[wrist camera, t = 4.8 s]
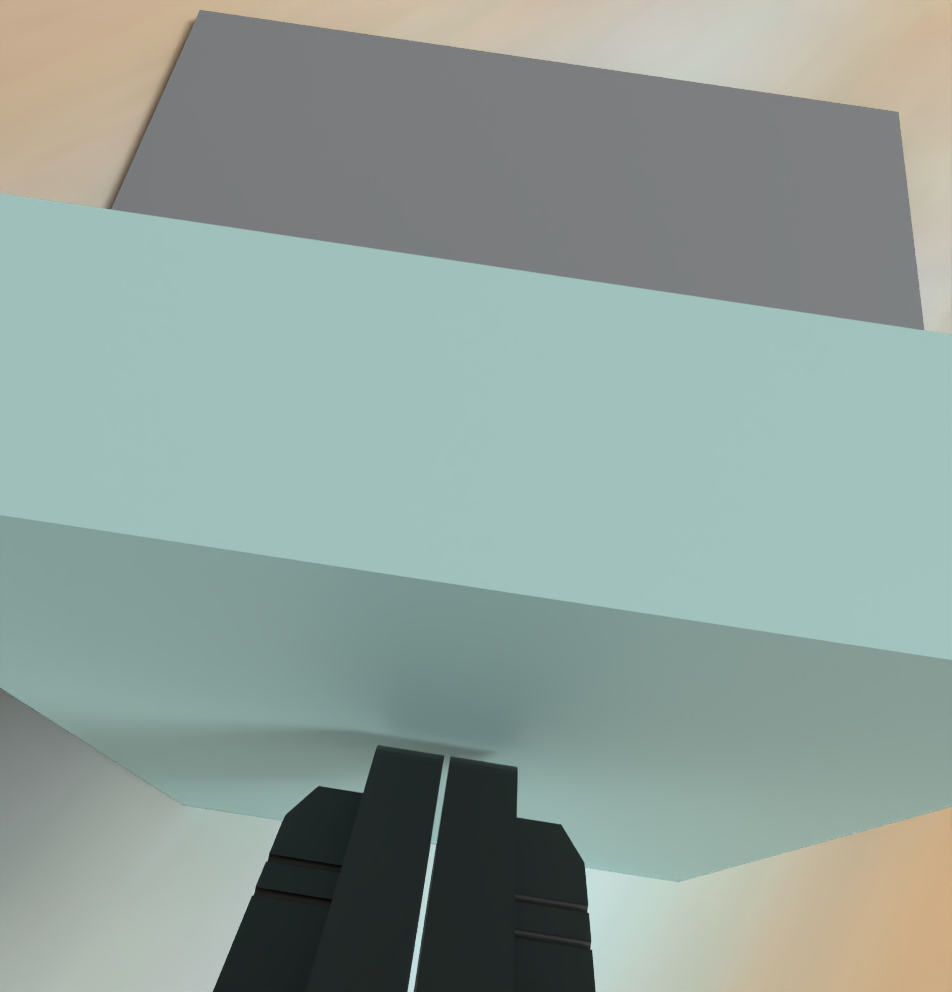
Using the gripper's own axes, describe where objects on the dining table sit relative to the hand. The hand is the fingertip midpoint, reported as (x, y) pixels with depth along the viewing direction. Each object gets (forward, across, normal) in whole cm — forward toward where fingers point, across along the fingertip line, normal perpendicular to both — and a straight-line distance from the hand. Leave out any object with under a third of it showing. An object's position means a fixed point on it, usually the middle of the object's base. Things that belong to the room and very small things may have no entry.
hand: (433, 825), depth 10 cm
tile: (+8, 0, +5) cm, 9 cm away
